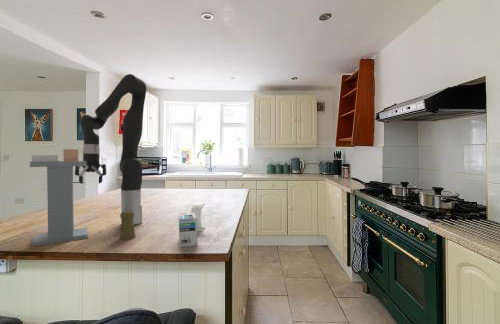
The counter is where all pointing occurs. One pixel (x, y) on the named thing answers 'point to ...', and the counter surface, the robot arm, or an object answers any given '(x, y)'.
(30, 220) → the counter surface
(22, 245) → the counter surface
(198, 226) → the headphone stand
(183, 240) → the light bulb box
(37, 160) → the stand
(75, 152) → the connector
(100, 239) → the counter surface
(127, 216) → the cork
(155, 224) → the counter surface
